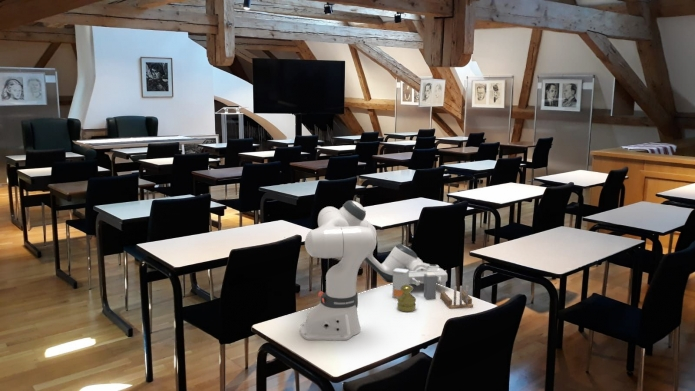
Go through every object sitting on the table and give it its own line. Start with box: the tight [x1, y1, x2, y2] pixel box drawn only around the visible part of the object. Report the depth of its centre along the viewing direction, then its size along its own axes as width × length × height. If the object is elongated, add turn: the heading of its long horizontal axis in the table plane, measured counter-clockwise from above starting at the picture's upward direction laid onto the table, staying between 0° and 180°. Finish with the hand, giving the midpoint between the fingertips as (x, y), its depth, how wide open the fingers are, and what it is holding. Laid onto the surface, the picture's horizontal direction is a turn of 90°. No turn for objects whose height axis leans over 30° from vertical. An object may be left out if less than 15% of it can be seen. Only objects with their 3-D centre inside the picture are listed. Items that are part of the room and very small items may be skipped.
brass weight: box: [396, 284, 417, 313], centre depth 229 cm, size 7×7×10 cm
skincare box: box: [391, 268, 410, 298], centre depth 242 cm, size 6×4×12 cm
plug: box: [423, 272, 437, 300], centre depth 241 cm, size 4×4×11 cm
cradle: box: [439, 284, 474, 310], centre depth 235 cm, size 10×12×9 cm
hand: (429, 283), depth 242 cm, fingers open, 8 cm apart
